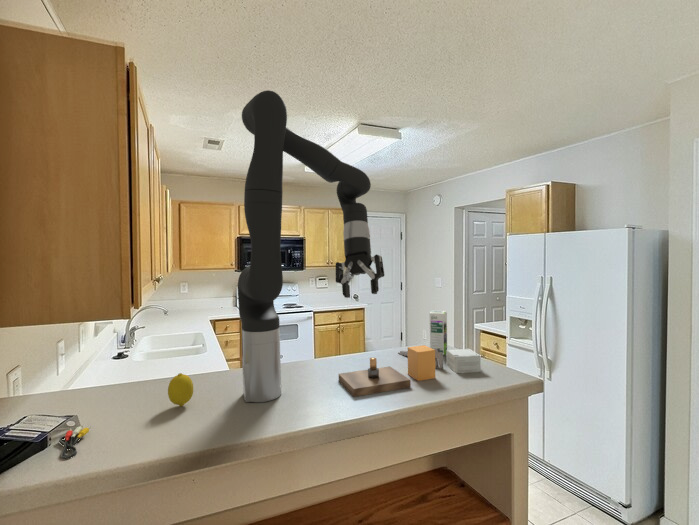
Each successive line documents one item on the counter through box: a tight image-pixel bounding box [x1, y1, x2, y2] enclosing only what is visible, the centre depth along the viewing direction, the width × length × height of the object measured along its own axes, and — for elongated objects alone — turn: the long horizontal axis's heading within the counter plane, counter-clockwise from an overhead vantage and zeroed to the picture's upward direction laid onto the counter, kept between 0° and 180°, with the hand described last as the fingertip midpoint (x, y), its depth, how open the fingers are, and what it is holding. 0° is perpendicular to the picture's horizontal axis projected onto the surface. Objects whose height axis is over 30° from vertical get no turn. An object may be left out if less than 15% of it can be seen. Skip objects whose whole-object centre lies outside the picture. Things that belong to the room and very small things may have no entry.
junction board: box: [338, 365, 412, 398], centre depth 98 cm, size 16×12×2 cm
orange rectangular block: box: [407, 344, 436, 382], centre depth 103 cm, size 6×6×8 cm
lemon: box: [167, 372, 194, 407], centre depth 86 cm, size 6×6×8 cm
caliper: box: [397, 348, 444, 370], centre depth 118 cm, size 20×1×6 cm, turn 32°
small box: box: [445, 348, 482, 374], centre depth 110 cm, size 8×8×5 cm
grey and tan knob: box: [367, 357, 379, 379], centre depth 98 cm, size 3×3×5 cm
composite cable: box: [58, 424, 91, 460], centre depth 69 cm, size 10×5×2 cm, turn 22°
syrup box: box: [429, 310, 448, 356], centre depth 126 cm, size 6×6×14 cm
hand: (360, 295), depth 100 cm, fingers open, 8 cm apart
